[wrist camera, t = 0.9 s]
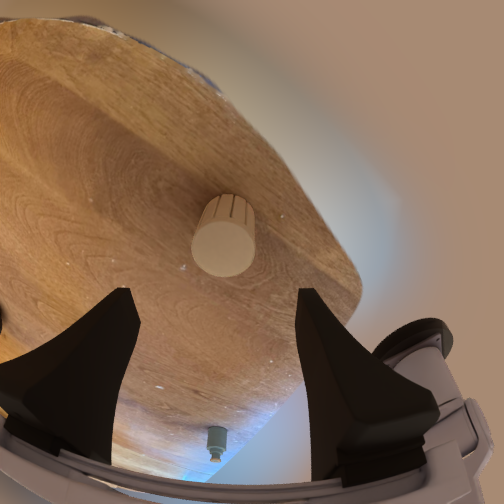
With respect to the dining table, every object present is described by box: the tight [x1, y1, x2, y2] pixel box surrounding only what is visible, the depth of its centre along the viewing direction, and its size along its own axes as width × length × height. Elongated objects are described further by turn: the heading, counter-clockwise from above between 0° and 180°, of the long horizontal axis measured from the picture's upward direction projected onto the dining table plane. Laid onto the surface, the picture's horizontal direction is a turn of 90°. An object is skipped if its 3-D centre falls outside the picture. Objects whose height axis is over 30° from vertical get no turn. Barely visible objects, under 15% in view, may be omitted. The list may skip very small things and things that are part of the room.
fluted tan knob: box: [191, 194, 255, 277], centre depth 18 cm, size 4×4×4 cm
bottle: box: [207, 427, 227, 462], centre depth 34 cm, size 3×3×6 cm
